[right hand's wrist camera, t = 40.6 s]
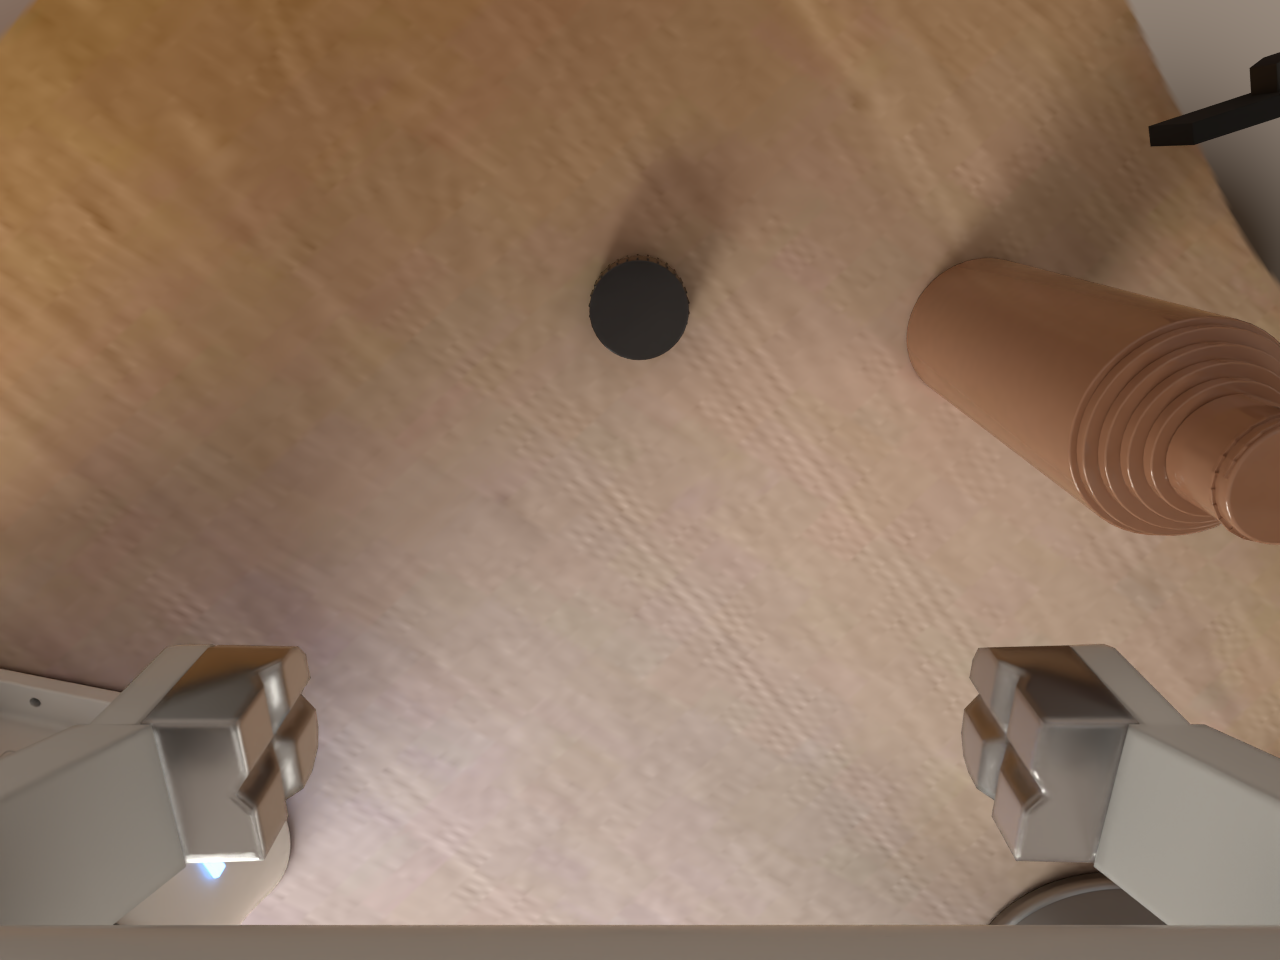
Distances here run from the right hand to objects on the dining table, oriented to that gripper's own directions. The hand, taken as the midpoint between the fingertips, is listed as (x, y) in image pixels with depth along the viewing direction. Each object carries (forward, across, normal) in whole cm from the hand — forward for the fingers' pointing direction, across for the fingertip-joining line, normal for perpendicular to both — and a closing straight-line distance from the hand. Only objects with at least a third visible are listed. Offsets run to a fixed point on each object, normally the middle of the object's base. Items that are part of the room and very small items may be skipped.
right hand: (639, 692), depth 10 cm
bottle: (+31, +16, -1) cm, 35 cm away
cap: (+30, 0, 0) cm, 30 cm away
